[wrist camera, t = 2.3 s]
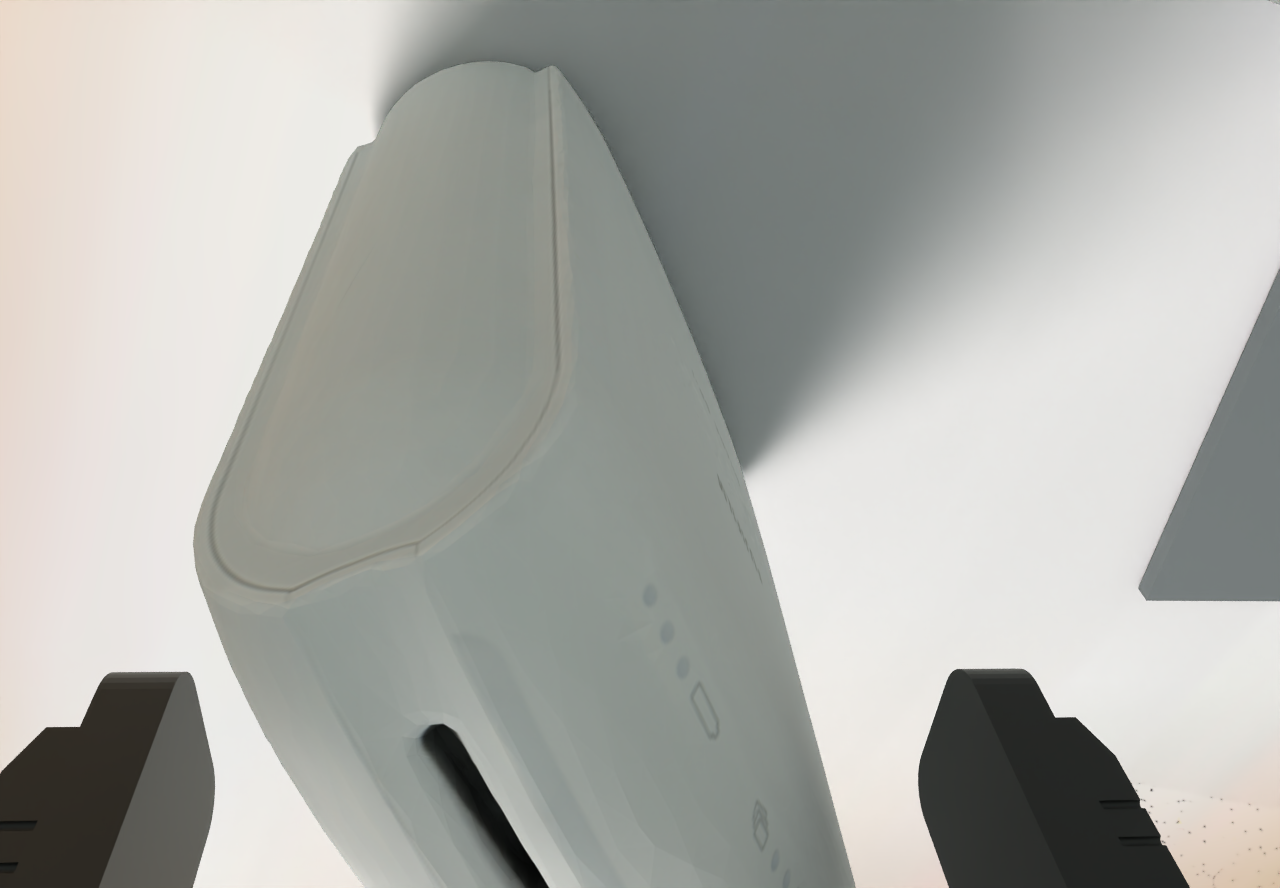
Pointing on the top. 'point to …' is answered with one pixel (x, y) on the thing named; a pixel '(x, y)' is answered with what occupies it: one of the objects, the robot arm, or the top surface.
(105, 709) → the robot arm
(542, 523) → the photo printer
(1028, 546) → the top surface
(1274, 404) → the slate pad
